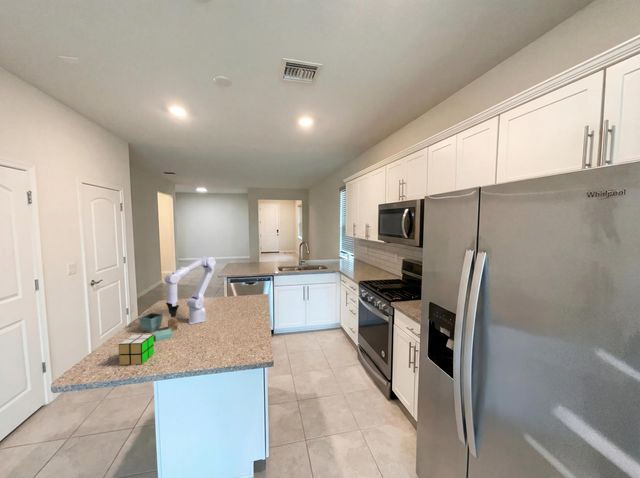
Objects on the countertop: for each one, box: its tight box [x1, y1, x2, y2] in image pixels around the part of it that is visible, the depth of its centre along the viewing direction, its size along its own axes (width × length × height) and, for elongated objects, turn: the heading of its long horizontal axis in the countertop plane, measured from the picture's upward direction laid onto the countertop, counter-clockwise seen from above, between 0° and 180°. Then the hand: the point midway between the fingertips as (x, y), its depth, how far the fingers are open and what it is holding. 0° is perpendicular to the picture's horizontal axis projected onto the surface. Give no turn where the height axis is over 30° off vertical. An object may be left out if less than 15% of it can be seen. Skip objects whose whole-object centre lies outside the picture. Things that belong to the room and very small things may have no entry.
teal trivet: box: [153, 328, 174, 342], centre depth 145 cm, size 8×8×3 cm
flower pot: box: [138, 312, 164, 333], centre depth 154 cm, size 9×9×9 cm
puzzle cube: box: [118, 334, 155, 366], centre depth 120 cm, size 10×10×10 cm
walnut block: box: [167, 318, 178, 332], centre depth 156 cm, size 4×4×6 cm
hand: (172, 315), depth 156 cm, fingers open, 7 cm apart
